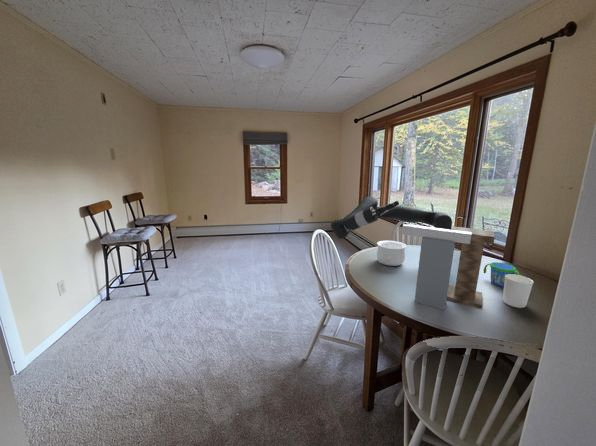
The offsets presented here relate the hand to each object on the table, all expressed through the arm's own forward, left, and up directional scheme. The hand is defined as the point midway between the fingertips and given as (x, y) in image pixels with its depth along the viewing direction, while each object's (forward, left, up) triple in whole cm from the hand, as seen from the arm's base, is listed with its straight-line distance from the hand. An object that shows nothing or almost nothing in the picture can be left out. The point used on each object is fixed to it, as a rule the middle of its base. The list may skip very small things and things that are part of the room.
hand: (396, 203), depth 124 cm
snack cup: (-56, +22, -43) cm, 74 cm away
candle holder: (-40, +36, -43) cm, 69 cm away
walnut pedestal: (-24, +22, -43) cm, 54 cm away
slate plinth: (-6, +19, -43) cm, 47 cm away
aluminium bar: (-6, +18, -13) cm, 22 cm away
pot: (-26, -25, -43) cm, 56 cm away
